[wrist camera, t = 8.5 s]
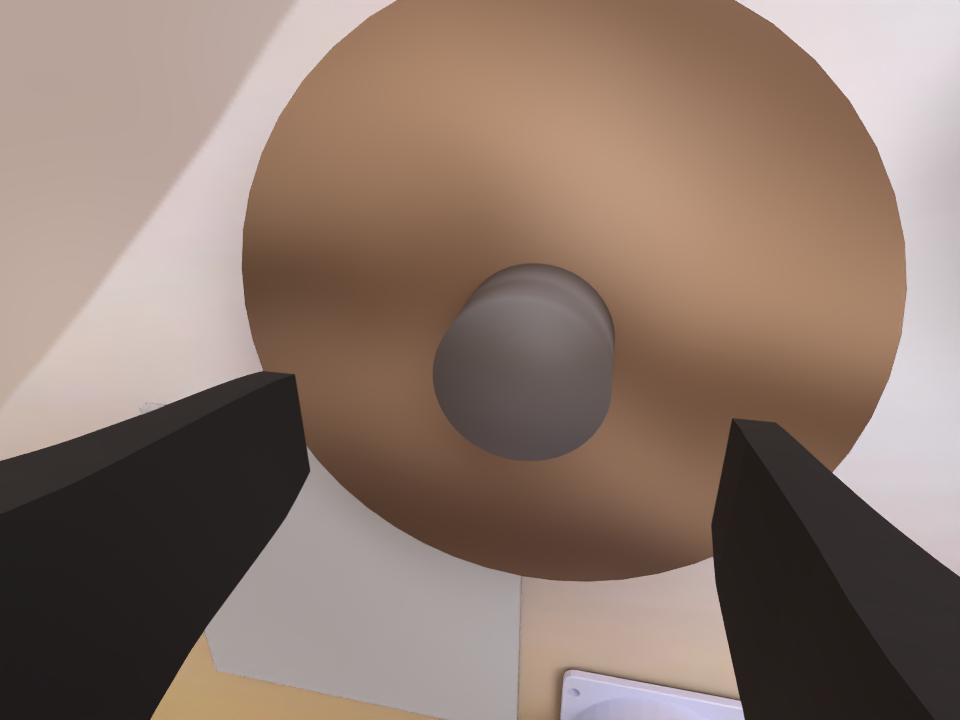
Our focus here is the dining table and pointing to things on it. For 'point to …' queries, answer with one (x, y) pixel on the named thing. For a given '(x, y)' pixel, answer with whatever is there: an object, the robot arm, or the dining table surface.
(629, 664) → the dining table surface
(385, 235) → the walnut lid
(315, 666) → the grey mat
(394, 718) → the dining table surface
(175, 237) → the dining table surface
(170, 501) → the robot arm
